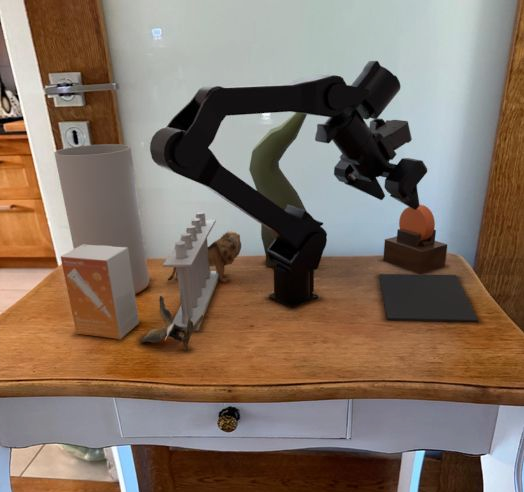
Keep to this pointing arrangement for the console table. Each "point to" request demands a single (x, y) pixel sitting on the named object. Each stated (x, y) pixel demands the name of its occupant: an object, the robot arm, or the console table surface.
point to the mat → (425, 298)
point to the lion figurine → (221, 253)
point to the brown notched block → (415, 251)
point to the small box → (101, 290)
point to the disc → (418, 221)
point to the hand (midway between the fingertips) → (399, 202)
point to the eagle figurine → (171, 328)
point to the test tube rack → (193, 271)
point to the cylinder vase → (104, 201)
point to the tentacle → (275, 170)
